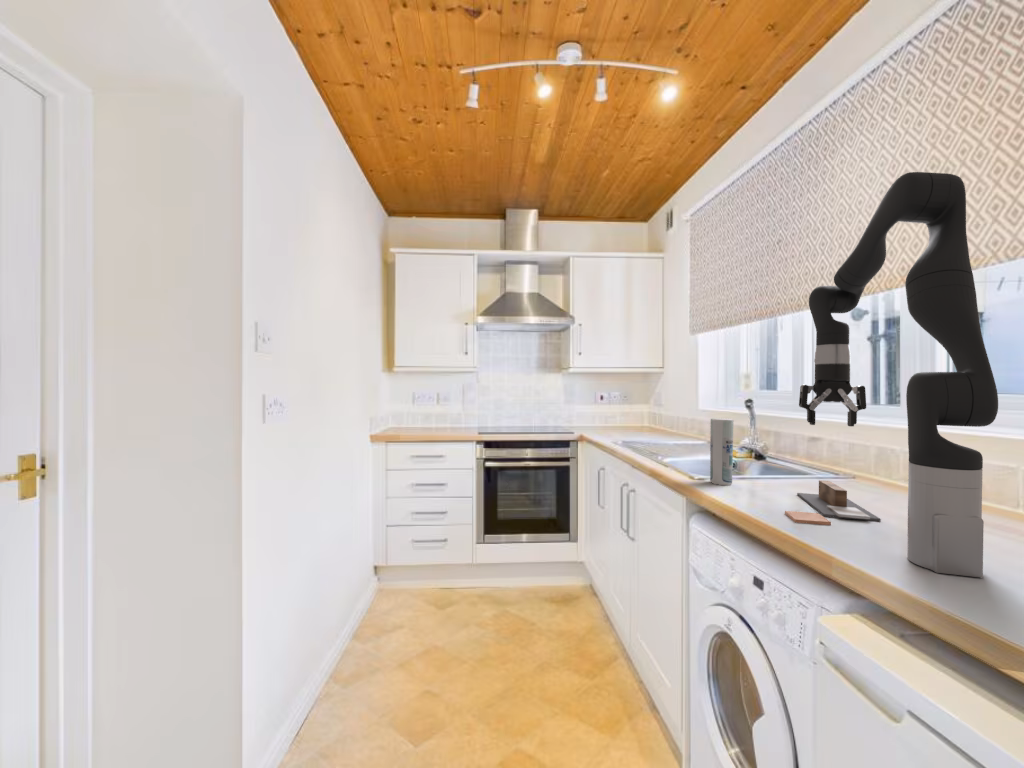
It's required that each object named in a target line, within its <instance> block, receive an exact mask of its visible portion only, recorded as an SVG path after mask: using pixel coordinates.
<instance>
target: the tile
mask: <svg viewBox="0 0 1024 768" xmlns="http://www.w3.org/2000/svg"><path fill="white" fill-rule="evenodd" d="M784 514H785V515H786V516H787V517H788V516H789V517H790V518H789V517H788V518H789V519H790V520H792V522H793V523H796V522H797V523H798V524H809V525H810V524H811V525H812V524H813V525H822V526H824V525H825V526H831V525H832V522H831V521H830V520H829V519H828V518H827V517H824V516H823V515H822V514H820V513H819V512H805V511H792V510H791V511H790V510H785V511H784ZM797 523H796V524H797Z"/></svg>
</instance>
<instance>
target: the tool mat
mask: <svg viewBox="0 0 1024 768" xmlns="http://www.w3.org/2000/svg"><path fill="white" fill-rule="evenodd" d="M797 497H799V498H800V499H802V500H803V501H804V502H805V503H807V505H809V506H810V507H812V508H813V509H814V510H816V511H817V513H819V514H820V515H822V516H823V517H824V518H835V519H836V518H837V519H847V520H856V521H857V520H858V521H859V520H860V521H871V522H881V520H882V519H881V518H880V517H879V516H877V515H875V514H873V513H872V512H870V511H869V510H867V509H865V508H864V507H862V506H861V505H858V504H857V503H855V502H854V501H852V500H850V499H849V498H847V507H854V508H857V509H859V510H860V511H862V512H863V513H865V514H867V515H868V516H870V519H860V518H848V517H839V516H837V515H836V514H835V513H833V512H832V511H831V510H829V509H828V508H827V505H829V506H831V505H830V504H828V503H827V502H825V501H824V500H822V499H821V498H819V493H818V494H817V493H802V492H797Z"/></svg>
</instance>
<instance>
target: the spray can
mask: <svg viewBox="0 0 1024 768" xmlns="http://www.w3.org/2000/svg"><path fill="white" fill-rule="evenodd" d="M709 443H710V445H709V447H710V450H709V451H710V454H709V458H710V460H709V461H710V463H709V464H710V465H709V468H710V469H709V470H710V471H709V479H710V480H709V481H710V483H711V482H712V483H714V484H713V485H716V484H719V485H718V486H731V484H733V461H734V460H733V459H734V458H733V457H734V418H722V417H721V418H720V417H719V418H717V417H716V418H715V417H712V418H710V442H709ZM712 483H711V484H712Z"/></svg>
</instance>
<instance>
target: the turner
mask: <svg viewBox="0 0 1024 768" xmlns="http://www.w3.org/2000/svg"><path fill="white" fill-rule="evenodd" d="M818 494H819V498H821V499H822V500H824V501H825V502H827V503H828V504H830V505H831V506H829V505H827V508H828V509H829V510H831V511H832V512H833V513H835V514H836V515H837V516H839V517H848V518H860V519H870V516H868V515H867V514H865V513H863V512H862V511H860V510H859V509H857V508H854V507H847V499H848V491H847V490H846V489H844V488H843V487H841V486H839V485H837V484H835V483H834V482H832V481H830V480H820V479H819V480H818Z"/></svg>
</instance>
